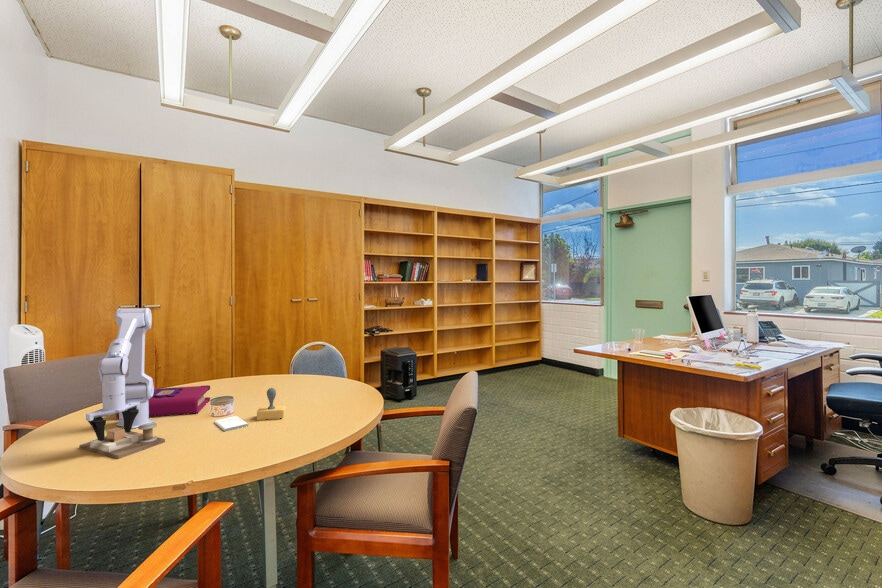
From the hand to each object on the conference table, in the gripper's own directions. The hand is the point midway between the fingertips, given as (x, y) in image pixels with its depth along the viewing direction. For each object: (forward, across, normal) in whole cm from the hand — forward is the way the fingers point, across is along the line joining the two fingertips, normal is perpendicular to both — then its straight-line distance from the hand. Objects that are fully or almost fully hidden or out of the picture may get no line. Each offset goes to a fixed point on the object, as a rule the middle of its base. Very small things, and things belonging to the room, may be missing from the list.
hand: (114, 435), depth 130 cm
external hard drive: (+5, +30, -16) cm, 35 cm away
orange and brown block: (+3, 0, -1) cm, 3 cm away
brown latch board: (+4, +2, 0) cm, 5 cm away
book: (+5, +33, +24) cm, 41 cm away
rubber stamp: (+4, +42, -24) cm, 49 cm away
